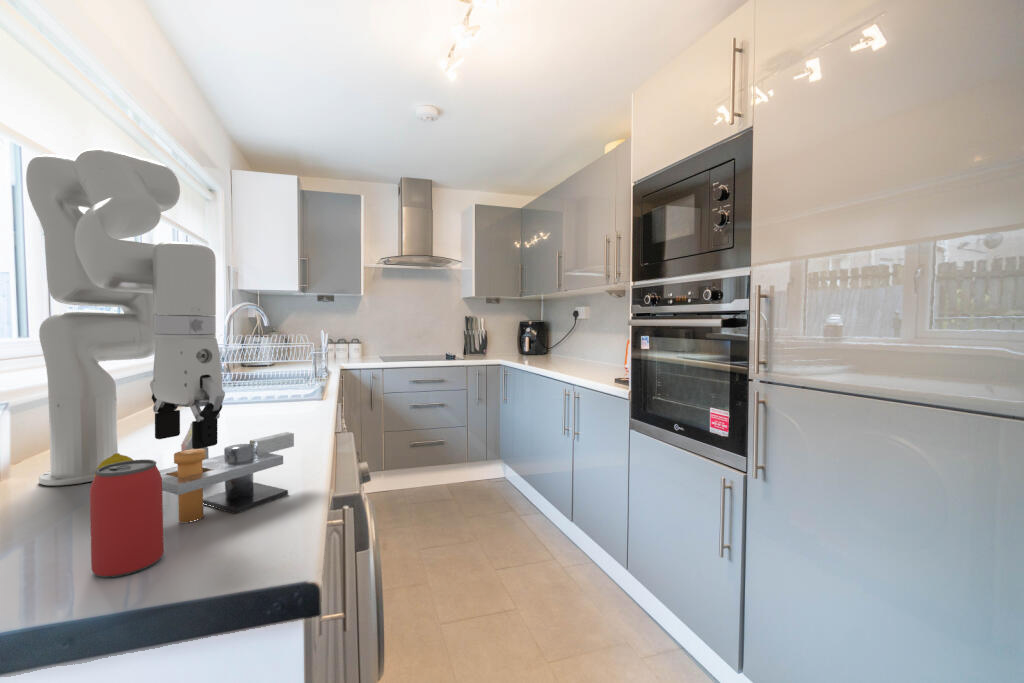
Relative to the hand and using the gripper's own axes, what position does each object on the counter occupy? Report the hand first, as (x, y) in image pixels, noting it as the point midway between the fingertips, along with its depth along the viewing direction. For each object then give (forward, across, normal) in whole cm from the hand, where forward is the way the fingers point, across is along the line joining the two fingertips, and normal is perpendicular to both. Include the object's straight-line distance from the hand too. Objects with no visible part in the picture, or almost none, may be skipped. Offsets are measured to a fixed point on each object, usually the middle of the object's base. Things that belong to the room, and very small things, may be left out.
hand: (185, 441), depth 68 cm
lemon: (+12, +17, +2) cm, 21 cm away
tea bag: (+12, +19, -11) cm, 25 cm away
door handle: (+11, -1, -6) cm, 13 cm away
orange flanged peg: (+11, -2, 0) cm, 11 cm away
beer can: (+11, -9, +11) cm, 18 cm away
